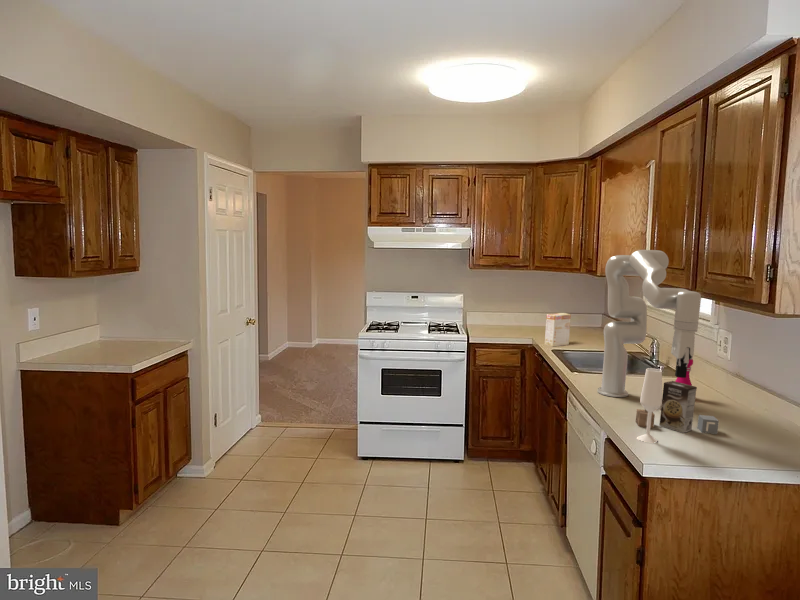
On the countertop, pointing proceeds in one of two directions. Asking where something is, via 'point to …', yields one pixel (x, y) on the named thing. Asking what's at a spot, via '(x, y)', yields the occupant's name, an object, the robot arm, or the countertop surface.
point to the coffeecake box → (557, 329)
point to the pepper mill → (687, 379)
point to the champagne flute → (651, 398)
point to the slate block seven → (708, 424)
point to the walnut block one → (644, 418)
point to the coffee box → (677, 406)
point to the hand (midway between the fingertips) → (680, 376)
